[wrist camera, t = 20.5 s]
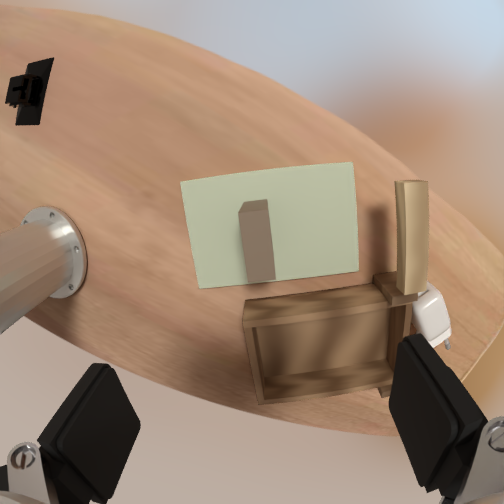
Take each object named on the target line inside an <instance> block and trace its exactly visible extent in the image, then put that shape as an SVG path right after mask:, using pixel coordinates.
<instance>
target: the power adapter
mask: <svg viewBox="0 0 504 504" xmlns="http://www.w3.org/2000/svg"><path fill="white" fill-rule="evenodd" d="M411 323H412V324H413V325H414V327H415V328H416V329H417V330H416V334H418V333H421V334H422V335H423V336H424V337H425V338H426V340H427V341H428V342H429V344H430V345H431V346H432V347H433V348H434V347H435V346H437V345H438V344H440V343H441V342H443V341H444V343H445V347H446V349H447V350H449V349H450V347H451V346H450V343H449V340H448V337H449V336H450V335H451V331H452V330H451V326H450V324H451V323H450V319H449V315H448V311H447V308H446V305H445V302H444V299H443V296H442V294H441V293H440V292H439V290H438V289H437V288H435V287H434V286H433V285H432V284H431V283H430V282H428V281H427V289H426V291H424V292H419V293H418V301H414V302H413V306H412V316H411Z"/></svg>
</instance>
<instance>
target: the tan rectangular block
mask: <svg viewBox="0 0 504 504" xmlns="http://www.w3.org/2000/svg"><path fill="white" fill-rule="evenodd" d="M395 195H396V215H397V284H396V287H397V288H398V289H399V290H400V291H401V292H402V293H403V294H404V295H409V294H414V293H419V292H424V291H426V289H427V275H428V257H429V195H428V182H427V181H422V180H404V181H395Z"/></svg>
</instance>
